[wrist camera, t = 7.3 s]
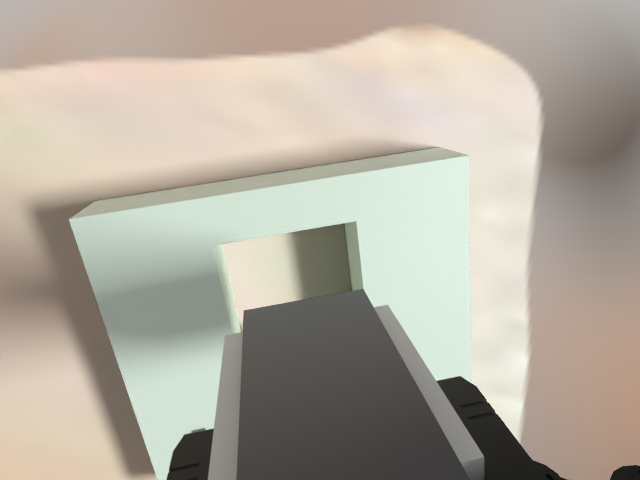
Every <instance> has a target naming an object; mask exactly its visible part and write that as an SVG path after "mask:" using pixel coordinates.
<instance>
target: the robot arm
mask: <svg viewBox="0 0 640 480" xmlns="http://www.w3.org/2000/svg"><path fill="white" fill-rule="evenodd" d="M374 309H375V311H376V312H377V314H378V316H379V318H380V320H381V321H382V323H383V325H384V327H385V328H386V330H387V332H388V334H389V336H390V337H391V339H392V341H393V343H394V345H395V346H396V348H397V350H398V352H399V353H400V355H401V357H402V359H403V361H404V362H405V364H406V366H407V368H408V370H409V371H410V373H411V375H412V377H413V378H414V380H415V382H416V384H417V386H418V387H419V389H420V391H421V393H422V395H423V396H424V398H425V400H426V402H427V403H428V405H429V407H430V409H431V411H432V412H433V414H434V416H435V418H436V420H437V421H438V423H439V425H440V427H441V429H442V430H443V432H444V434H445V436H446V437H447V439H448V441H449V443H450V445H451V446H452V448H453V450H454V452H455V454H456V455H457V457H458V459H459V461H460V462H461V464H462V466H463V468H464V470H465V471H466V473H467V475H468V477H469V479H470V480H566V479H564V478H561V477H560V476H559V475H558V474H557V473H556V472H554V471H553V470H551V469H550V468H549V467H547V466H546V465H544V464H541V463H538V462H536V461H533V460H532V459H531V458H530V457H529V455H528V454H527V453H526V452H525V450H524V449H523V448H522V446H521V445H520V444H519V442H518V441H517V440H516V438H515V437H514V436H513V434H512V433H511V432H510V430H509V429H508V428H507V426H506V425H505V424H504V422H503V421H502V420H501V418H500V417H499V416H498V415H497V414H496V413H495V411H494V409H493V408H492V407H491V405H490V404H489V403H487V401H486V399H485V397H484V396H483V395H482V393H481V392H480V391H479V389H478V388H477V387H476V386H475V385H473V384H472V383H470V382H469V381H467V380H466V379H464V378H463V377H461V376H457V377H453V378H448V379H443V380H438V381H436V380H435V378H434V377H433V375H432V374H431V372H430V370H429V369H428V367H427V366H426V364H425V362H424V361H423V359H422V358H421V356H420V355H419V353H418V351H417V350H416V348H415V347H414V345H413V344H412V342H411V340H410V339H409V337H408V336H407V334H406V332H405V331H404V329H403V328H402V326H401V325H400V323H399V321H398V320H397V318H396V317H395V315H394V313H393V312H392V310H391V309H390V307H389V306H388V305H383V306H377V307H374ZM242 341H243V332H239V333H234V334H229V335H225V339H224V347H223V356H222V364H221V372H220V381H219V389H218V398H217V406H216V415H215V423H214V428H213V429H208V430H204V431H199V432H194V433H189V434H184V436H183V437H182V439H181V440H180V442H179V443H178V445H177V446H176V448H175V449H174V451H173V453H172V458H171V462H170V466H169V473H168V475H167V480H236V478H237V456H238V433H239V410H240V387H241V364H242ZM610 480H640V466H637V465H633V466H623V467H621V468H619V469H617V470H615V471H614V472H613V474H612V476H611V479H610Z"/></svg>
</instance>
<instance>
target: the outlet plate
mask: <svg viewBox="0 0 640 480" xmlns="http://www.w3.org/2000/svg"><path fill="white" fill-rule="evenodd" d="M69 222H70V225H71V228H72V231H73V234H74V236H75V239H76V242H77V245H78V248H79V251H80V254H81V257H82V260H83V263H84V266H85V269H86V272H87V275H88V278H89V280H90V283H91V286H92V289H93V292H94V295H95V298H96V301H97V304H98V307H99V310H100V313H101V316H102V319H103V322H104V324H105V327H106V330H107V333H108V336H109V339H110V342H111V345H112V348H113V351H114V354H115V357H116V360H117V363H118V366H119V369H120V371H121V374H122V377H123V380H124V383H125V386H126V389H127V392H128V395H129V398H130V401H131V404H132V407H133V410H134V413H135V415H136V418H137V421H138V424H139V427H140V430H141V433H142V436H143V439H144V442H145V445H146V448H147V451H148V454H149V457H150V459H151V462H152V465H153V468H154V471H155V474H156V477H157V480H167V475H168V473H169V466H170V462H171V458H172V453H173V451H174V449H175V448H176V446H177V445H178V443H179V442H180V440H181V439H182V437H183V436H184V434H189V433H194V432H199V431H204V430H208V429H213V428H214V423H215V415H216V406H217V398H218V389H219V381H220V372H221V364H222V356H223V347H224V339H225V335H229V334H234V333H239V332H241V328H240V323H239V319H238V314H237V310H236V305H235V300H234V296H233V291H232V287H231V282H230V278H229V273H228V269H227V264H226V260H225V255H224V250H223V246H222V244H225V243H231V242H237V241H243V240H249V239H255V238H261V237H266V236H272V235H278V234H284V233H290V232H296V231H301V230H307V229H313V228H319V227H325V226H331V225H337V224H342V223H344V224H345V232H346V241H347V250H348V258H349V267H350V276H351V284H352V291H354V290H359V289H364V291H365V293H366V294H367V296H368V298H369V300H370V302H371V303H372V305H373V307H377V306H383V305H388V306H389V307H390V309H391V310H392V312H393V313H394V315H395V317H396V318H397V320H398V321H399V323H400V325H401V326H402V328H403V329H404V331H405V332H406V334H407V336H408V337H409V339H410V340H411V342H412V344H413V345H414V347H415V348H416V350H417V351H418V353H419V355H420V356H421V358H422V359H423V361H424V362H425V364H426V366H427V367H428V369H429V370H430V372H431V374H432V375H433V377H434V378H435V380H436V381H438V380H443V379H448V378H453V377H457V376H461V377H463V378H464V379H466V380H467V381H469V382H470V383H471V304H470V226H469V155H465V154H462V153H458V152H455V151H451V150H448V149H444V148H440V147H437V148H430V149H424V150H418V151H411V152H405V153H398V154H392V155H386V156H379V157H373V158H366V159H360V160H354V161H347V162H341V163H334V164H328V165H322V166H315V167H309V168H303V169H296V170H290V171H283V172H277V173H271V174H264V175H258V176H251V177H245V178H239V179H232V180H226V181H219V182H213V183H207V184H200V185H194V186H187V187H181V188H175V189H168V190H162V191H156V192H149V193H143V194H136V195H130V196H124V197H117V198H111V199H104V200H98V201H94V202H93V203H92V204H90V205H89V206H87V207H86V208H84V209H83V210H81V211H80V212H79V213H77V214H76V215H74V216H73V217H71V218H70V219H69Z"/></svg>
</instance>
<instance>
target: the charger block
mask: <svg viewBox="0 0 640 480" xmlns="http://www.w3.org/2000/svg"><path fill="white" fill-rule="evenodd" d="M236 480H470V479H469V477H468V475H467V473H466V471H465V470H464V468H463V466H462V464H461V462H460V461H459V459H458V457H457V455H456V454H455V452H454V450H453V448H452V446H451V445H450V443H449V441H448V439H447V437H446V436H445V434H444V432H443V430H442V429H441V427H440V425H439V423H438V421H437V420H436V418H435V416H434V414H433V412H432V411H431V409H430V407H429V405H428V403H427V402H426V400H425V398H424V396H423V395H422V393H421V391H420V389H419V387H418V386H417V384H416V382H415V380H414V378H413V377H412V375H411V373H410V371H409V370H408V368H407V366H406V364H405V362H404V361H403V359H402V357H401V355H400V353H399V352H398V350H397V348H396V346H395V345H394V343H393V341H392V339H391V337H390V336H389V334H388V332H387V330H386V328H385V327H384V325H383V323H382V321H381V320H380V318H379V316H378V314H377V312H376V311H375V309H374V307H373V305H372V303H371V302H370V300H369V298H368V296H367V294H366V293H365V291H364V289H359V290H354V291H348V292H343V293H337V294H332V295H326V296H321V297H316V298H310V299H305V300H299V301H294V302H288V303H283V304H277V305H272V306H266V307H261V308H255V309H250V310H245V311H244V318H243V341H242V364H241V387H240V410H239V433H238V456H237V478H236Z"/></svg>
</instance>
